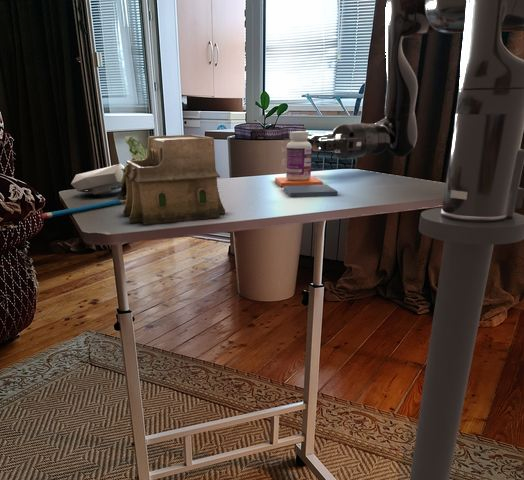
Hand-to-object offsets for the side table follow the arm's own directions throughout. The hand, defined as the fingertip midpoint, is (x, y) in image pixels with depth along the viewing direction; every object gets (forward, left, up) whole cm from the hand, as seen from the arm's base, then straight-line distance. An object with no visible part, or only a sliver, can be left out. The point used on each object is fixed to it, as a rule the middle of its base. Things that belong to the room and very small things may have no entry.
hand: (306, 145), depth 108 cm
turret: (+41, +5, -8) cm, 42 cm away
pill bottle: (+2, +2, -7) cm, 7 cm away
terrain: (+33, +17, -3) cm, 37 cm away
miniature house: (+28, +31, -8) cm, 42 cm away
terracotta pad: (+2, +2, -8) cm, 8 cm away
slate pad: (+2, +15, -8) cm, 17 cm away
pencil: (+43, +25, -7) cm, 50 cm away
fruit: (+35, +16, -7) cm, 39 cm away
